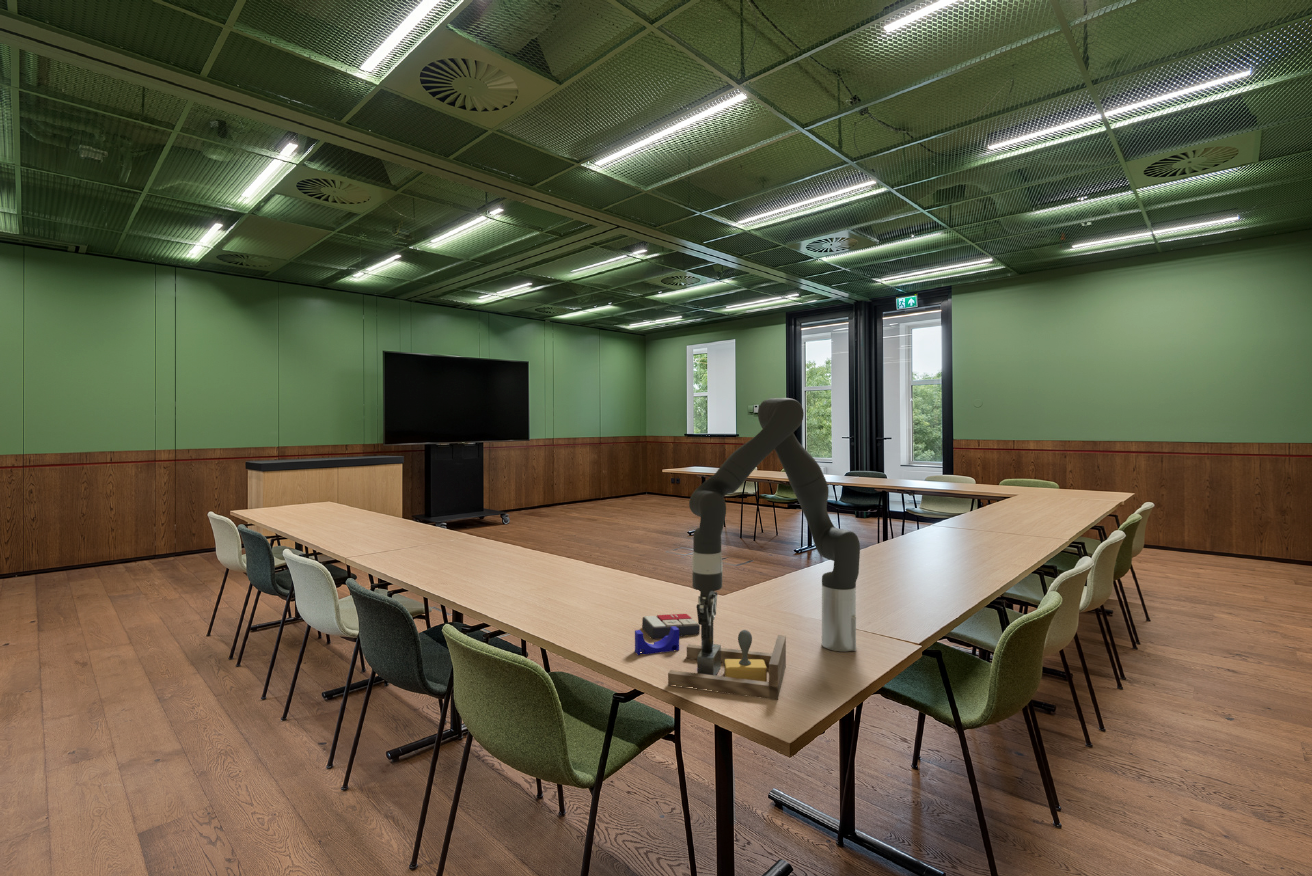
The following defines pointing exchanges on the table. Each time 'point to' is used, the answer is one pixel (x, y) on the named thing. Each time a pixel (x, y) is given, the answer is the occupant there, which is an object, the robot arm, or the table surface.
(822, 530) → the robot arm
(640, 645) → the blue pipe saddle
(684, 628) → the calculator
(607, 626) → the table surface
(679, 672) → the frame
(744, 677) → the rubber stamp
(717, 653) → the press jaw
